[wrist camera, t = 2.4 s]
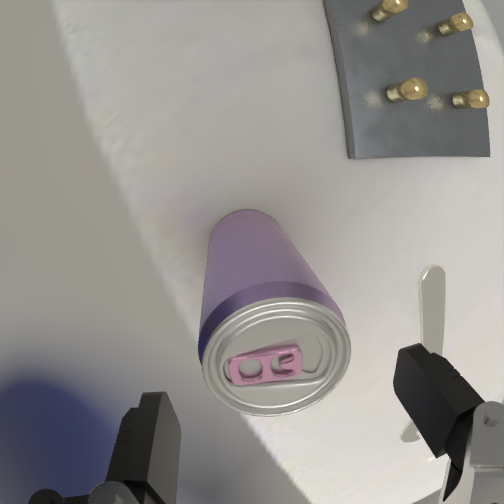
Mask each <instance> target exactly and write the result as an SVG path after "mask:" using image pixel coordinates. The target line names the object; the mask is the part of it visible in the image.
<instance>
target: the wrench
mask: <svg viewBox="0 0 504 504" xmlns="http://www.w3.org/2000/svg"><path fill="white" fill-rule="evenodd" d="M418 286H419V299H420V316H421V344H422V345H423V346H424V347H425V348H426V349H427V350H428V351H429V352H430V353H433V352H434V353H436V354H438V355H440V356H442V349H443V338H444V321H445V272H444V270H443V269H442V268H441V267H439V266H438V265H431V266H429V267H427V268H426V269H425V270H424V271H423V272H422V274H421V276H420V279H419V282H418ZM417 431H418V429H417V427H416V425H415V424H414V422H413V421H412V419H410V420H409V422H408V423H407V425H406V426H405V427H404V429H403V430H402V432H401V434H400V437H401V439H402V441H404V442H414V441H417V440H419V439H421V438H420V437H419V436H418V435H417V434H416V432H417Z"/></svg>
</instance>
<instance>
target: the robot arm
mask: <svg viewBox="0 0 504 504" xmlns="http://www.w3.org/2000/svg"><path fill="white" fill-rule="evenodd" d="M393 386H394V391H395V394H396V396H397V397H398V399H399V400H400V402H401V403H402V405H403V407H404V408H405V410H406V411H407V413H408V414H409V416H410V417H411V419H412V421H413V422H414V424H415V425H416V427H417V429H418V430H419V432H420V433H421V435H422V436H423V438H424V440H425V441H426V443H427V445H428V446H429V448H430V449H431V451H432V453H433V454H434V456H435V458H438V457H440V456H442V455H444V454H446V453H447V454H448V456H449V457H450V458H449V460H448V463H447V467H446V472H445V477H444V482H443V486H442V490H441V494H440V498H439V502H438V504H504V405H503V404H501V403H499V402H494V401H488V402H485V401H484V400H483V399H482V398H481V397H480V396H479V394H478V393H477V392H476V391H475V390H474V389H473V388H472V387H471V385H470V384H469V383H468V382H467V381H466V380H465V379H464V378H463V377H462V376H460V373H459V372H458V371H457V370H456V369H454V367H453V366H452V365H451V364H450V363H449V361H448V360H447V359H446V358H444V357H442V356H440V355H438V354H436V353H434V352H433V353H430V352H429V351H428V350H427V349H426V348H425V347H424V346H423V345H422V344H420V343H417V344H414V345H411V346H408V347H405V348H402V349H400V350H399V352H398V357H397V363H396V369H395V374H394V380H393ZM180 440H181V430H180V424H179V421H178V418H177V416H176V414H175V411H174V409H173V407H172V404H171V402H170V400H169V397H168V395H167V393H166V392H149V393H143V394H142V396H141V400H140V404H139V408H130V409H129V411H128V412H127V413H126V414H125V416H124V417H123V418H122V421H121V425H120V428H119V433H118V435H117V439H116V443H115V446H114V450H113V454H112V457H111V461H110V465H109V469H108V473H107V477H106V480H105V482H103V483H100V484H99V485H97V486H96V487H94V488H93V489H92V491H91V492H90V494H88V495H83V496H75V497H66V498H63V497H62V496H61V495H60V494H59V493H57V492H56V491H54V490H51V489H42V490H39V491H37V492H36V493H34V494H33V495H32V496H31V498H30V500H29V503H28V504H176V493H177V478H178V464H179V452H180Z"/></svg>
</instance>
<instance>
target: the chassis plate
mask: <svg viewBox="0 0 504 504" xmlns="http://www.w3.org/2000/svg"><path fill="white" fill-rule="evenodd" d="M323 2H324V6H325V10H326V15H327V19H328V24H329V29H330V34H331V39H332V44H333V49H334V54H335V60H336V66H337V72H338V78H339V85H340V91H341V98H342V106H343V113H344V121H345V130H346V139H347V149H348V158H350V159H367V158H387V157H418V156H469V157H490V142H489V128H488V118H487V109H486V107H488V106H489V97H488V94H487V93H486V91H485V90H484V87H483V81H482V75H481V70H480V65H479V60H478V55H477V51H476V47H475V43H474V39H473V35H472V31H471V28H472V27H473V21H472V19H471V18H470V16H469V15H468V14H466V11H465V8H464V5H463V2H462V0H323Z"/></svg>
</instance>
